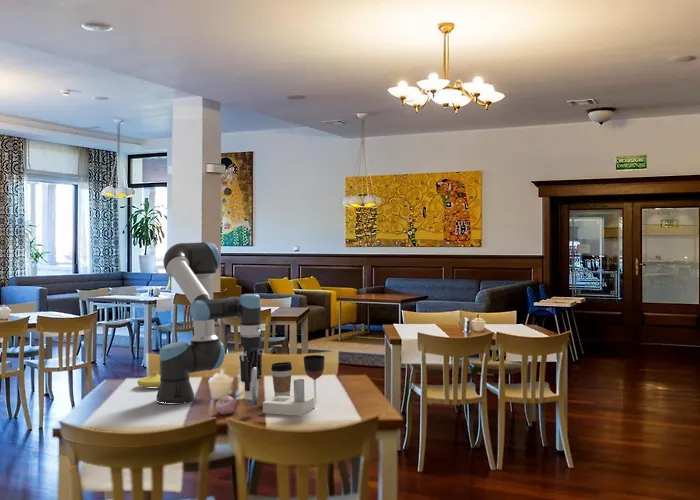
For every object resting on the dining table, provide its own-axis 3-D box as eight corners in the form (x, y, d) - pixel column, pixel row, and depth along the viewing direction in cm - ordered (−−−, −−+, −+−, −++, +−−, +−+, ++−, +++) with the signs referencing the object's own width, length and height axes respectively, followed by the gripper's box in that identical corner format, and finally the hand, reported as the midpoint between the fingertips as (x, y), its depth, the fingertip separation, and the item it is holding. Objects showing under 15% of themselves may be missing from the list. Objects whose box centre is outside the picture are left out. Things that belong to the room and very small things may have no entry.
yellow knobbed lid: (158, 382, 328) (157, 366, 328) (180, 385, 319) (180, 370, 319) (129, 388, 315) (129, 372, 315) (152, 392, 306) (152, 376, 306)
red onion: (221, 419, 261) (214, 402, 261) (217, 417, 268) (210, 399, 268) (241, 410, 264) (234, 392, 264) (236, 407, 271) (229, 390, 271)
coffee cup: (289, 402, 282) (288, 365, 281) (269, 401, 283) (268, 364, 283) (295, 397, 290) (294, 361, 289) (275, 397, 291) (274, 361, 291)
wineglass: (310, 412, 267) (309, 359, 267) (301, 407, 275) (300, 356, 274) (329, 409, 271) (328, 357, 270) (320, 404, 278) (318, 354, 278)
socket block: (262, 413, 266) (262, 381, 266) (277, 405, 277) (276, 375, 277) (301, 416, 260) (300, 383, 260) (314, 408, 271) (313, 377, 271)
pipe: (244, 405, 262) (243, 368, 262) (249, 402, 266) (249, 366, 265) (254, 406, 261) (253, 369, 260) (259, 403, 264) (258, 366, 264)
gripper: (248, 339, 253) (249, 404, 254) (270, 332, 269) (271, 393, 270) (230, 338, 256) (231, 402, 257) (253, 331, 271) (254, 391, 272)
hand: (251, 397), depth 263 cm, fingers closed on pipe, 4 cm apart
